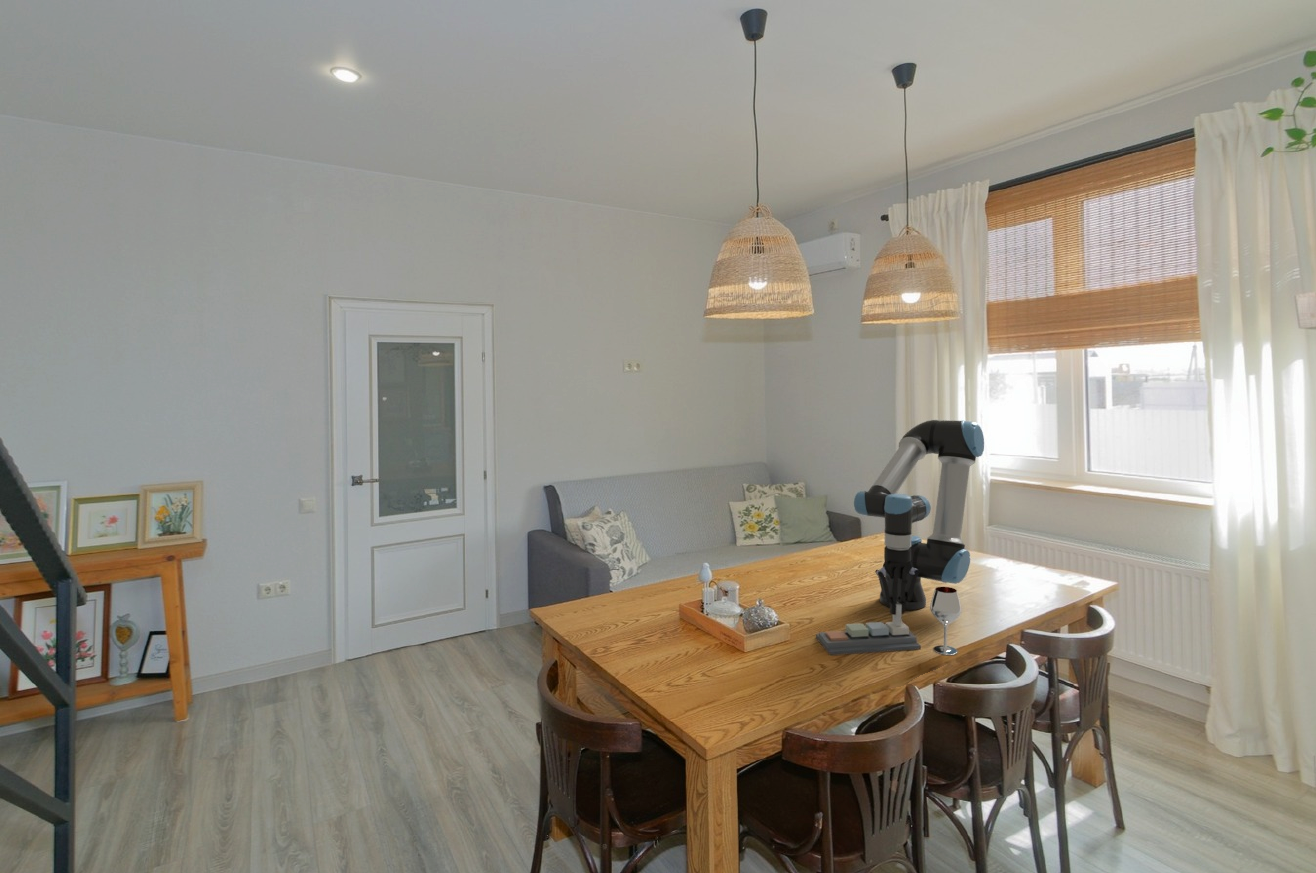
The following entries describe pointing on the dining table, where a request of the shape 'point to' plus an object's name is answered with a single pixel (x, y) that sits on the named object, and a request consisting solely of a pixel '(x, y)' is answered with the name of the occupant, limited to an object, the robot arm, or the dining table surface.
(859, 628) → the key sage
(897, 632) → the key ivory
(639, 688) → the dining table surface
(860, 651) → the keypad
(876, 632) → the key bluegrey
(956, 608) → the wineglass
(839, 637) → the key terracotta
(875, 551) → the dining table surface
